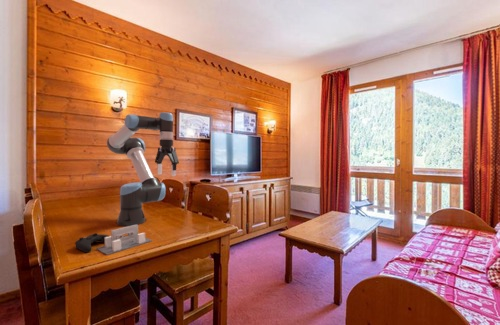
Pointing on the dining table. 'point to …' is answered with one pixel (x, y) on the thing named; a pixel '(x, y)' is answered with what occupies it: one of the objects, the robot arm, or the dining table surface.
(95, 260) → the dining table surface
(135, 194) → the robot arm
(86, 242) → the gaming controller
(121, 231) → the cassette
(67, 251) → the dining table surface
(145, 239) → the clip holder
